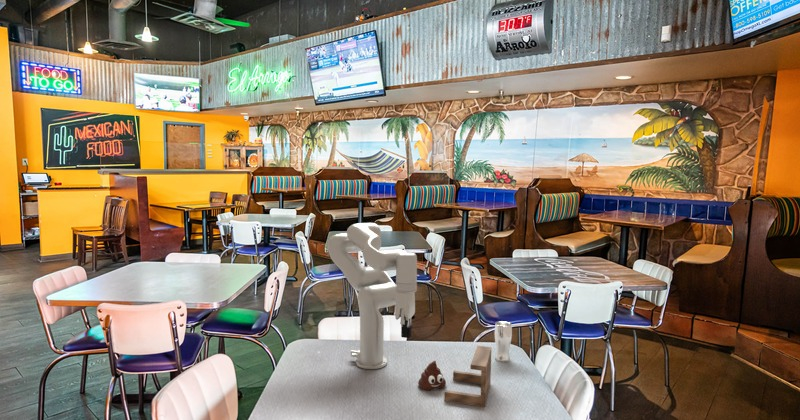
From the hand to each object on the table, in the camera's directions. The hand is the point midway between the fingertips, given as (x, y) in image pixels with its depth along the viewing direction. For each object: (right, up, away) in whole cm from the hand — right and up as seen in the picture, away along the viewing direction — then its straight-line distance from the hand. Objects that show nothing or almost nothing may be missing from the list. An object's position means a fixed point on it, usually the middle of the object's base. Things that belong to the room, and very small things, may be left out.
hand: (406, 336), depth 161 cm
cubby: (+21, -18, -5) cm, 28 cm away
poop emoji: (+9, -18, -2) cm, 20 cm away
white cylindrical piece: (+41, -16, +24) cm, 50 cm away
